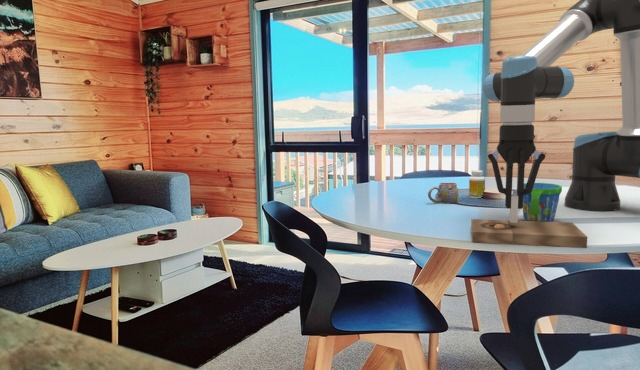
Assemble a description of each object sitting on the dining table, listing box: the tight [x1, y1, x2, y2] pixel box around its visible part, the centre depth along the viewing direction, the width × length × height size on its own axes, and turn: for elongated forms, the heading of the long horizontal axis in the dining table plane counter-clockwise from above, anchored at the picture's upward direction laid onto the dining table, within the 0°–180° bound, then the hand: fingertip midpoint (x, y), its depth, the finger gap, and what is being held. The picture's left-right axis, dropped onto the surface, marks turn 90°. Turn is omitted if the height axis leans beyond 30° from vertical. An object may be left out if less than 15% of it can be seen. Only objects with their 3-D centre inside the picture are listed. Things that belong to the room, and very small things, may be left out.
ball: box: [494, 224, 505, 228], centre depth 113 cm, size 3×3×3 cm
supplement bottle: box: [468, 169, 486, 199], centre depth 166 cm, size 5×5×10 cm
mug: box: [427, 182, 460, 204], centre depth 158 cm, size 12×7×7 cm, turn 113°
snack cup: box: [522, 182, 563, 222], centre depth 126 cm, size 16×10×10 cm
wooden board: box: [470, 218, 588, 249], centre depth 111 cm, size 24×14×2 cm, turn 73°
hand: (513, 221), depth 112 cm, fingers closed
